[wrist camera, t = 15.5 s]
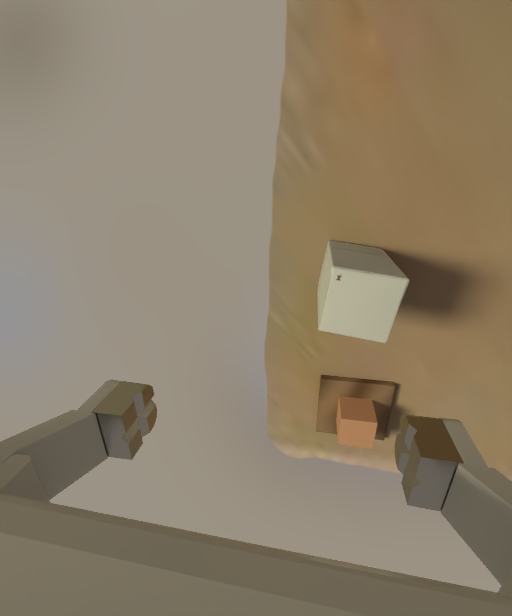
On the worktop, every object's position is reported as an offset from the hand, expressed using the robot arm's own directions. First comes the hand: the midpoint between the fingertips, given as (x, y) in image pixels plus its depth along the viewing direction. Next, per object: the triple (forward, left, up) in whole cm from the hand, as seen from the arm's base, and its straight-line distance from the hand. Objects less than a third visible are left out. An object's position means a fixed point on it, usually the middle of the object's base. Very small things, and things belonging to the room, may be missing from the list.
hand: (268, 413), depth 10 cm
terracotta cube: (-9, +28, -33) cm, 44 cm away
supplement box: (-6, +5, -34) cm, 35 cm away
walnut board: (-9, +28, -34) cm, 45 cm away
